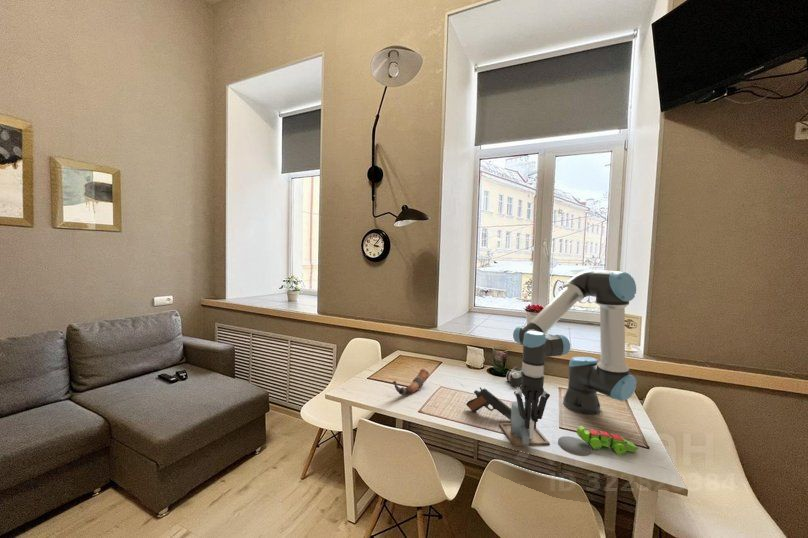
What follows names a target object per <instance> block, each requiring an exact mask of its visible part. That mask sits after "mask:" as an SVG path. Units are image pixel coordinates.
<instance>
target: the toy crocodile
mask: <svg viewBox="0 0 808 538" xmlns="http://www.w3.org/2000/svg"><path fill="white" fill-rule="evenodd" d="M585 429H586V428H585V427H584V426H583V425H579V426H578V427H577V429H576V434H577V436H578V438H579V439H580V440H583V441H584V442H586V443H589V445H590V447H591V448H593V449H594V450H600V449H602V446H603V447H607V448H609V447H610V446H611V448H612V449H613V451H615V453H616V454H617V455H623V456H624V455H626V453H627V452H631V453H632V452H633V453H635V452H636V451H638V448H639V447H637V445H635V443H633V442H632V441H629V440H627V439H625V438H624V437H623V436H622V435H621V436H620V434H615V433H608V432H607V431H603V430H599V431H597V430H596V429H589V430H588V429H587V430H585Z"/></svg>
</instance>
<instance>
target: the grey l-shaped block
mask: <svg viewBox="0 0 808 538" xmlns="http://www.w3.org/2000/svg"><path fill="white" fill-rule="evenodd" d="M523 406H524V411H525V401H523ZM510 408H511V420H510V423H511V427H510V430H511V432H512V433H513V435H514V437H519V438H521V439H522V443H523V444H524V445H523V446H530V445H529V435H528V432H527V429H526V428H525V419H523V418H522V417H521V416H520V413H519V408H518V403H517V400H516V401H513V402H512V403H511V406H510ZM531 418H532V417H531Z"/></svg>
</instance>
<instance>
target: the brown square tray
mask: <svg viewBox="0 0 808 538" xmlns="http://www.w3.org/2000/svg"><path fill="white" fill-rule="evenodd" d="M498 426H499V427H500V429H501V431H503V433H504V435H505V436H506V438H507V439H508V441H509V442H510V444H511V446H513V447H514V446H515V447H517V446H519V447H520V446H522V447H523V446H525V445H524V444H523V443H522V439H521V438H519V437H514V435H513V433H512V432H511V430H510V427H511V422H499V424H498ZM549 445H550V441H549V440H548V439H547V438H546V437H545V436H544V434H543V433H542V432H540V430H539V429H538V427H536V429H534V437H533V439H529V445H528V446H549Z"/></svg>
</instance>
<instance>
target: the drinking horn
mask: <svg viewBox="0 0 808 538" xmlns="http://www.w3.org/2000/svg"><path fill="white" fill-rule="evenodd" d="M429 377H430V372H429V371H428V370H426V369H424V368H421V369H420V370H419V372H418V374H417V375H416V377H414V378H413V380H412V382H411V383H410V384H409V385H408V386H407V387H404V386H403V387H399V386H398V384H397V381H395V380H394V381H392V385H394V388H395V390H396V392H397V393H398V394H400V395H402V396H403V395H410V394H413V393H415V392H416V391H418V390H420V389H421V388H422V387H423V386H424V384H425V382H426V381H427V380H428V378H429Z"/></svg>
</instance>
